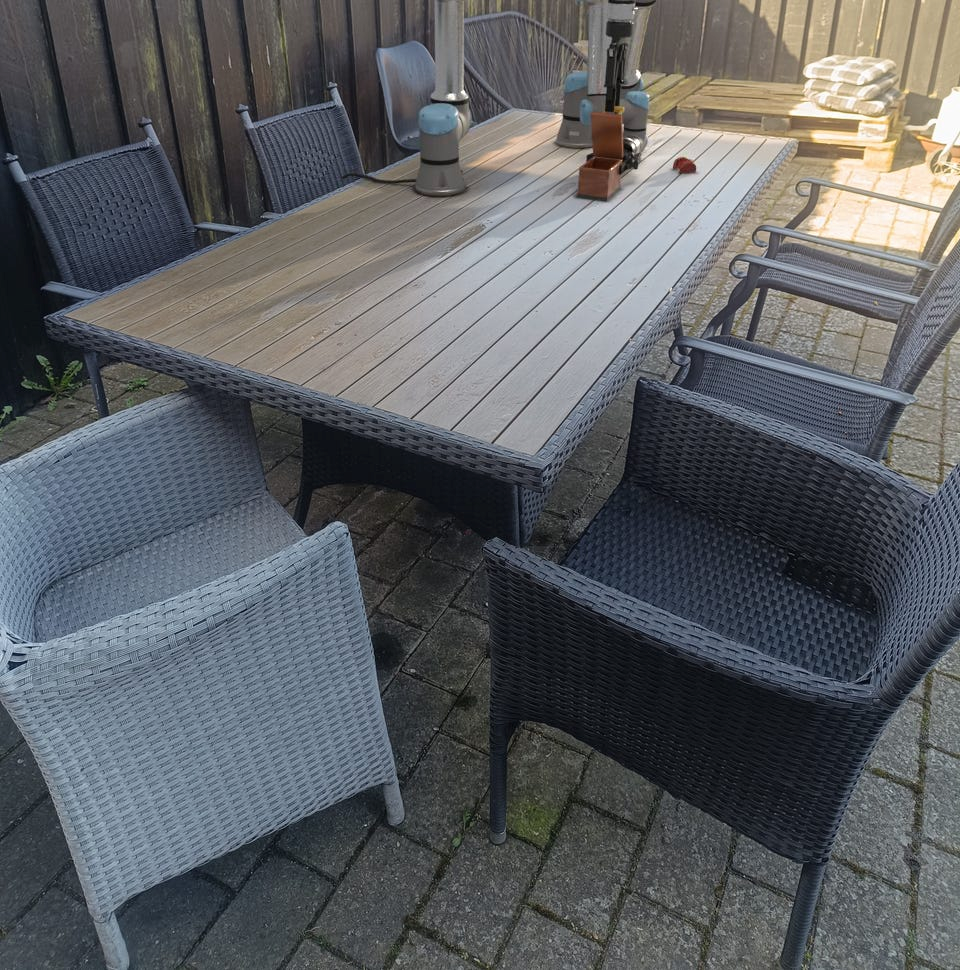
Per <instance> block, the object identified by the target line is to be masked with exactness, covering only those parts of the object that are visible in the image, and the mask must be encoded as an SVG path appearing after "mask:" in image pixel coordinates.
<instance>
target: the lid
mask: <svg viewBox="0 0 960 970" xmlns="http://www.w3.org/2000/svg"><path fill="white" fill-rule="evenodd" d="M624 109H625V108H624V107H619V106H615V110H614V112H619V114H610V113H606V112H605V106H604V110H603V112H602V113H600V112H591V129H592V144H593V147H592V153H593V155H595V156H603V157H612V158H621V159H622V158H623V126H624V124H622V113H623V112H624Z"/></svg>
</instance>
